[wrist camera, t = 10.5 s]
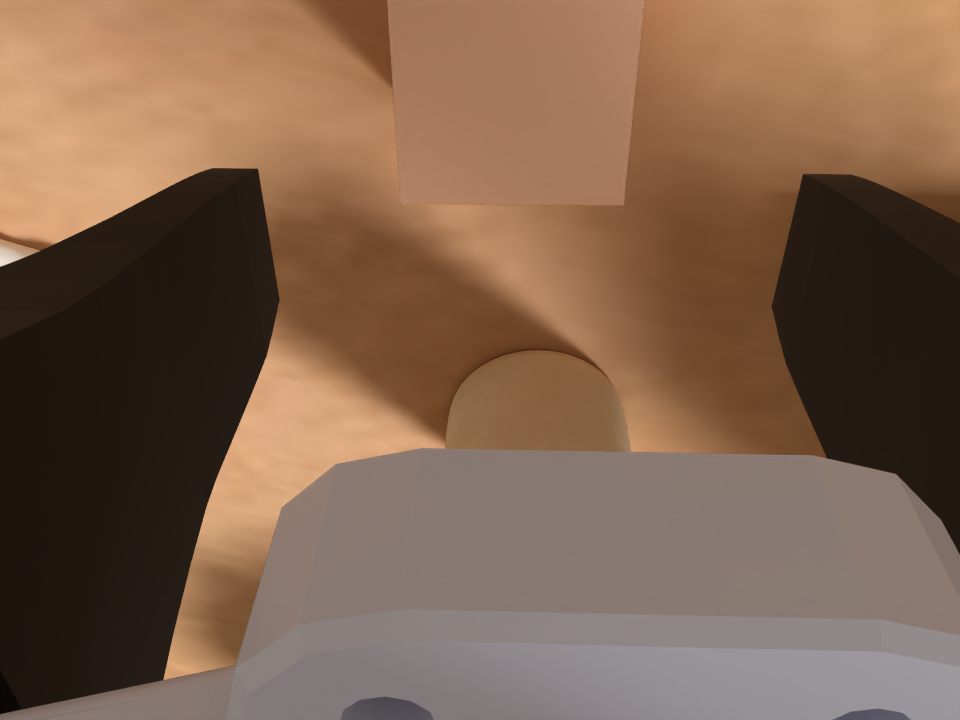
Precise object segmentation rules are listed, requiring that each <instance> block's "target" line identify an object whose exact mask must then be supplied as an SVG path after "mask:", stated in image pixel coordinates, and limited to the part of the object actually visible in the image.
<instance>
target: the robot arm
mask: <svg viewBox="0 0 960 720" xmlns="http://www.w3.org/2000/svg"><path fill="white" fill-rule="evenodd" d="M278 304H279V294H278V288H277V282H276V276H275V269H274V263H273V257H272V251H271V245H270V239H269V233H268V227H267V221H266V215H265V209H264V203H263V197H262V191H261V185H260V178H259V172H258V169H232V168H212V169H209V170H205V171H202V172H200V173H197V174H195V175H193V176H190V177H188V178H186V179H184V180H182V181H180V182H178V183H176V184H174V185H172V186H170V187H168V188H166V189H164V190H162V191H160V192H158V193H156V194H155V195H153V196H151V197H149V198H147V199H145V200H143V201H141V202H139V203H137V204H136V205H134V206H132V207H130V208H128V209H126V210H124V211H122V212H120V213H118V214H117V215H115V216H113V217H111V218H109V219H107V220H105V221H103V222H101V223H98V224H96V225H94V226H92V227H90V228H88V229H86V230H84V231H82V232H80V233H77V234H75V235H73V236H71V237H69V238H67V239H65V240H63V241H61V242H59V243H56V244H54V245H52V246H50V247H48V248H46V249H43V250H41V251H39V252H36V253H34V254H32V255H29V256H27V257H24V258H22V259H19V260H17V261H14V262H12V263H9V264H6V265H3V266H1V267H0V720H960V223H958V222H956V221H954V220H952V219H950V218H948V217H946V216H944V215H942V214H940V213H938V212H936V211H934V210H932V209H930V208H928V207H926V206H924V205H922V204H919V203H917V202H915V201H913V200H911V199H909V198H907V197H905V196H903V195H901V194H899V193H897V192H895V191H893V190H890V189H888V188H886V187H884V186H881V185H879V184H877V183H874V182H872V181H869V180H867V179H864V178H861V177H857V176H854V175H837V174H803V177H802V181H801V185H800V190H799V194H798V198H797V202H796V206H795V211H794V215H793V219H792V223H791V228H790V232H789V236H788V240H787V245H786V249H785V253H784V257H783V261H782V266H781V270H780V274H779V278H778V283H777V287H776V291H775V295H774V300H773V304H772V309H773V313H774V317H775V322H776V326H777V330H778V335H779V339H780V343H781V346H782V350H783V354H784V358H785V361H786V365H787V367H788V370H789V372H790V374H791V377H792V379H793V382H794V384H795V386H796V389H797V391H798V393H799V396H800V398H801V400H802V402H803V405H804V407H805V409H806V412H807V414H808V416H809V418H810V421H811V423H812V425H813V427H814V430H815V432H816V434H817V436H818V439H819V441H820V443H821V445H822V448H823V450H824V452H825V454H826V457H827V458H823V457H818V456H814V455H774V454H716V453H659V452H601V451H544V450H486V449H429V448H421V449H416V450H410V451H405V452H400V453H394V454H389V455H383V456H378V457H372V458H367V459H362V460H356V461H351V462H345V463H340V464H336V465H334V466H333V467H332V468H331V469H329V470H328V471H327V472H326V473H324V474H323V475H322V476H321V477H319V478H318V479H317V480H316V481H314V482H313V483H312V484H311V485H309V486H308V487H307V488H306V489H304V490H303V491H302V492H301V493H299V494H298V495H297V496H296V497H294V498H293V499H292V500H291V501H289V502H288V503H287V504H286V505H284V506H283V507H282V508H281V511H280V515H279V518H278V522H277V525H276V529H275V532H274V536H273V539H272V542H271V546H270V549H269V553H268V556H267V560H266V563H265V567H264V570H263V573H262V577H261V580H260V584H259V587H258V591H257V594H256V598H255V601H254V604H253V608H252V611H251V615H250V618H249V622H248V625H247V629H246V632H245V635H244V639H243V642H242V646H241V649H240V653H239V656H238V660H237V663H236V665H234V666H229V667H224V668H220V669H215V670H210V671H205V672H200V673H196V674H191V675H186V676H181V677H176V678H172V679H167V680H163V679H164V674H165V669H166V665H167V660H168V656H169V651H170V646H171V642H172V637H173V633H174V629H175V625H176V621H177V617H178V613H179V609H180V605H181V601H182V597H183V592H184V588H185V584H186V580H187V576H188V572H189V568H190V564H191V561H192V557H193V554H194V550H195V546H196V543H197V539H198V535H199V532H200V528H201V524H202V521H203V517H204V514H205V510H206V506H207V503H208V501H209V498H210V495H211V492H212V489H213V487H214V484H215V481H216V478H217V476H218V473H219V471H220V468H221V466H222V464H223V461H224V459H225V456H226V454H227V452H228V449H229V447H230V444H231V442H232V440H233V437H234V435H235V432H236V430H237V427H238V425H239V423H240V420H241V418H242V415H243V413H244V411H245V408H246V406H247V403H248V401H249V399H250V396H251V394H252V391H253V389H254V386H255V384H256V381H257V379H258V376H259V374H260V371H261V369H262V366H263V364H264V361H265V358H266V356H267V352H268V348H269V344H270V340H271V336H272V332H273V327H274V322H275V318H276V313H277V309H278Z"/></svg>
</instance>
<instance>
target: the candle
mask: <svg viewBox="0 0 960 720" xmlns="http://www.w3.org/2000/svg"><path fill="white" fill-rule="evenodd" d="M445 449H486V450H544V451H601V452H631V448H630V442H629V435H628V429H627V424H626V419H625V414H624V409H623V406H622V403H621V400H620V398H619V396H618V394H617V392H616V390H615V388H614V386H613V385H612V383H611V382H610V381H609V379H608V378H607V377H606V376H605V375H604V374H603V373H602V372H601V371H599V370H598V369H597V368H596V367H594V366H593V365H591V364H589V363H588V362H586V361H584V360H582V359H579V358H577V357H575V356H572V355H568V354H565V353H561V352H555V351H547V350H527V351H519V352H514V353H510V354H506V355H503V356H500V357H498V358H495V359H493V360H491V361H489V362H487V363H485V364H483V365H482V366H480V367H479V368H477V369H476V370H475V371H474V372H472V373H471V374H470V375H469V376H468V377H467V378H466V379H465V380H464V382H463V383H462V384H461V386H460V387H459V389H458V390H457V392H456V394H455V397H454V399H453V402H452V404H451V407H450V412H449V417H448V425H447V433H446V444H445Z"/></svg>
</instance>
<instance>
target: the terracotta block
mask: <svg viewBox="0 0 960 720" xmlns="http://www.w3.org/2000/svg"><path fill="white" fill-rule="evenodd" d="M644 2H645V0H387V8H388V23H389V38H390V53H391V68H392V83H393V98H394V113H395V128H396V143H397V158H398V173H399V188H400V203H401V204H482V205H624V199H625V189H626V179H627V169H628V159H629V149H630V140H631V130H632V120H633V110H634V100H635V90H636V81H637V71H638V61H639V51H640V41H641V31H642V21H643V12H644Z"/></svg>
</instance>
